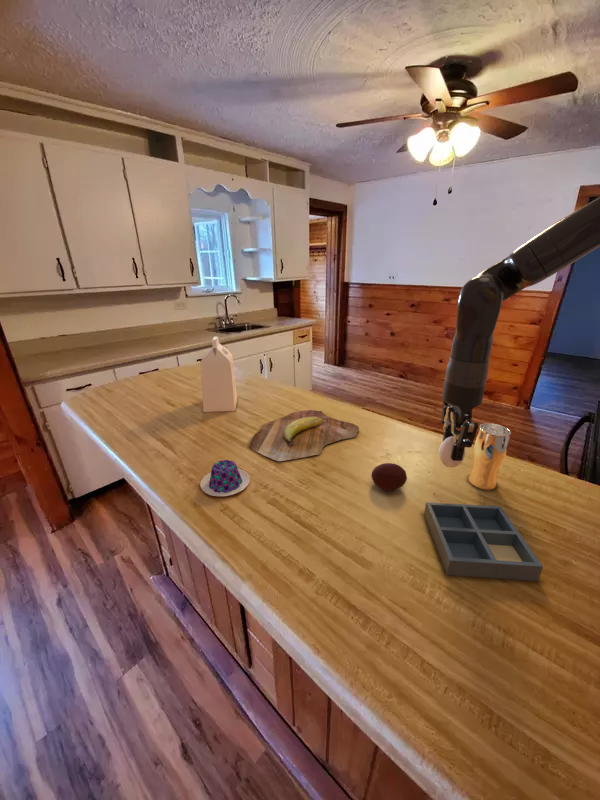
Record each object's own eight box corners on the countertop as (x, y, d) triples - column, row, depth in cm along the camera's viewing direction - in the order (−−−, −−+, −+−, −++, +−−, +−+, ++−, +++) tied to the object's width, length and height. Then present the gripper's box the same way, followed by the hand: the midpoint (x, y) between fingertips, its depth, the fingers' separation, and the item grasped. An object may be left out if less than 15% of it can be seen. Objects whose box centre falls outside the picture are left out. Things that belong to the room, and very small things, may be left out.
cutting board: (308, 407, 129) (308, 397, 127) (368, 429, 111) (369, 419, 109) (232, 438, 105) (231, 427, 104) (293, 473, 88) (293, 460, 86)
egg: (467, 470, 74) (473, 441, 71) (447, 474, 72) (452, 444, 70) (451, 458, 78) (456, 430, 76) (431, 461, 77) (436, 433, 74)
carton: (496, 519, 72) (500, 506, 71) (538, 581, 58) (543, 566, 57) (423, 514, 73) (426, 502, 72) (446, 574, 59) (450, 560, 58)
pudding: (190, 491, 80) (187, 473, 78) (219, 466, 91) (217, 449, 89) (233, 504, 76) (231, 485, 74) (258, 475, 87) (257, 458, 85)
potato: (403, 500, 78) (407, 478, 76) (368, 492, 81) (370, 471, 78) (406, 482, 84) (409, 461, 82) (373, 475, 87) (375, 455, 85)
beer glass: (503, 484, 84) (517, 431, 78) (488, 494, 80) (502, 439, 74) (476, 471, 89) (488, 420, 83) (461, 480, 85) (472, 427, 80)
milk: (208, 399, 135) (201, 335, 125) (237, 398, 136) (232, 334, 126) (203, 411, 124) (195, 342, 114) (235, 410, 125) (230, 341, 115)
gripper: (501, 392, 61) (482, 472, 67) (470, 370, 74) (457, 438, 81) (458, 391, 62) (444, 470, 68) (435, 369, 75) (425, 437, 81)
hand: (451, 452), depth 74 cm, fingers closed on egg, 5 cm apart
